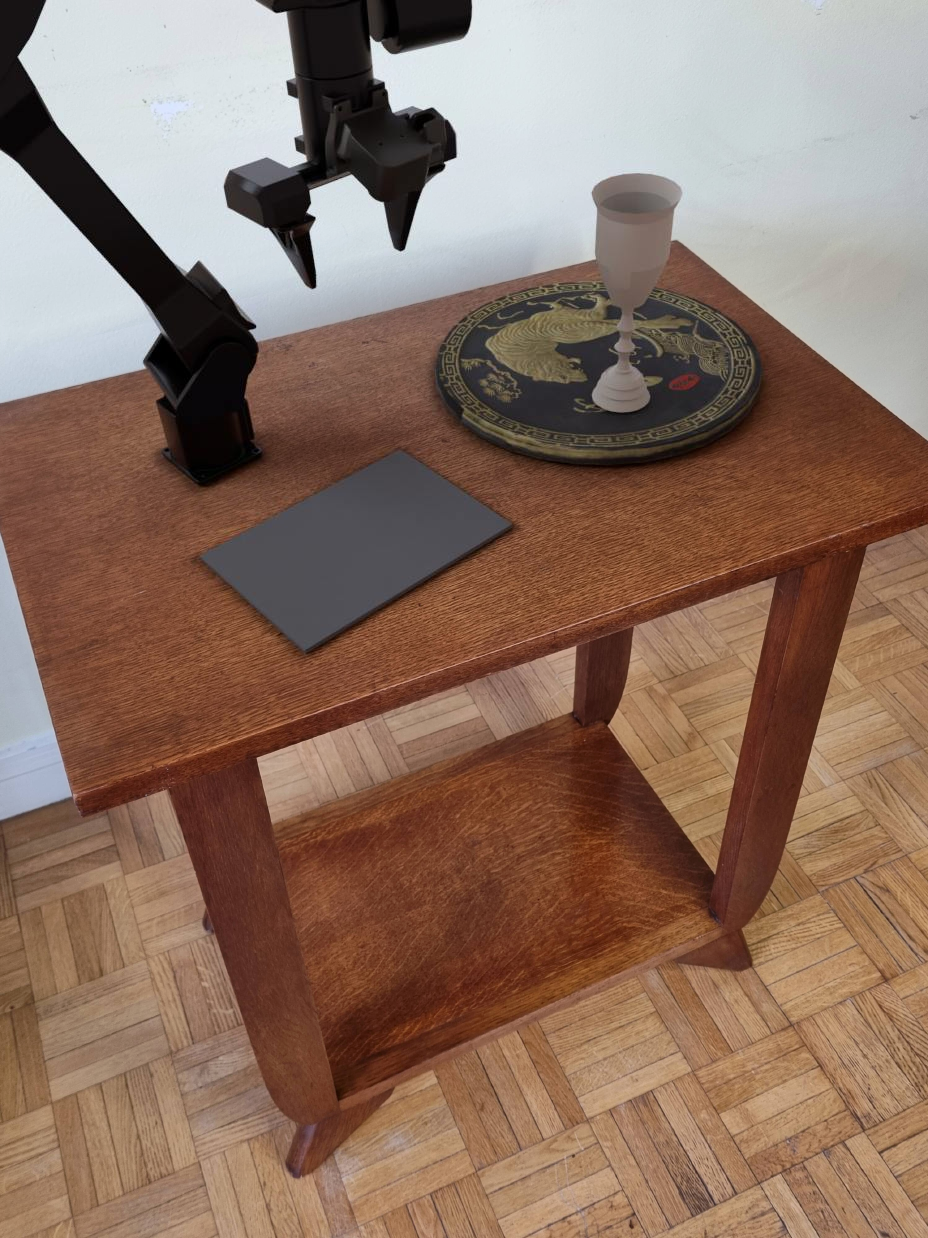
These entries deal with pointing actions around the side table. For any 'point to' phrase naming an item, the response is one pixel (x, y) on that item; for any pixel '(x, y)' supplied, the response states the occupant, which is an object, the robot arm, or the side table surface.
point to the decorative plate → (596, 374)
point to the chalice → (631, 267)
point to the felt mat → (353, 548)
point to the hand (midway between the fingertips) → (356, 267)
